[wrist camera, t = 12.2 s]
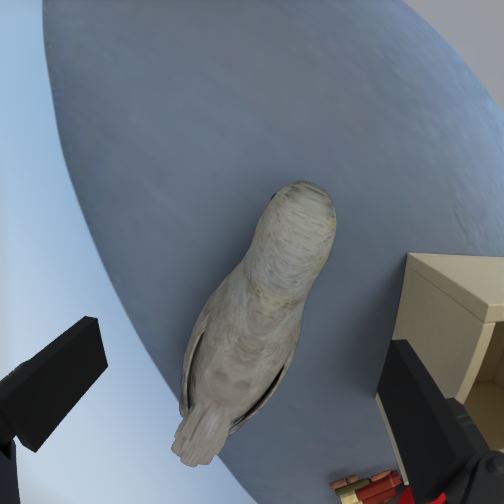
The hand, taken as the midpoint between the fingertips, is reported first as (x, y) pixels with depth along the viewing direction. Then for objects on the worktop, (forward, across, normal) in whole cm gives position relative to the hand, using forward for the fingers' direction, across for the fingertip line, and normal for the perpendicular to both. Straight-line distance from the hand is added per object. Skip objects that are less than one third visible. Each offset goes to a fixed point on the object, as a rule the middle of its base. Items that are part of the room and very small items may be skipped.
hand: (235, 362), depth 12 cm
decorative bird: (+7, 0, 0) cm, 7 cm away
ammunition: (+5, +11, -24) cm, 27 cm away
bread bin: (+7, +16, -2) cm, 18 cm away
